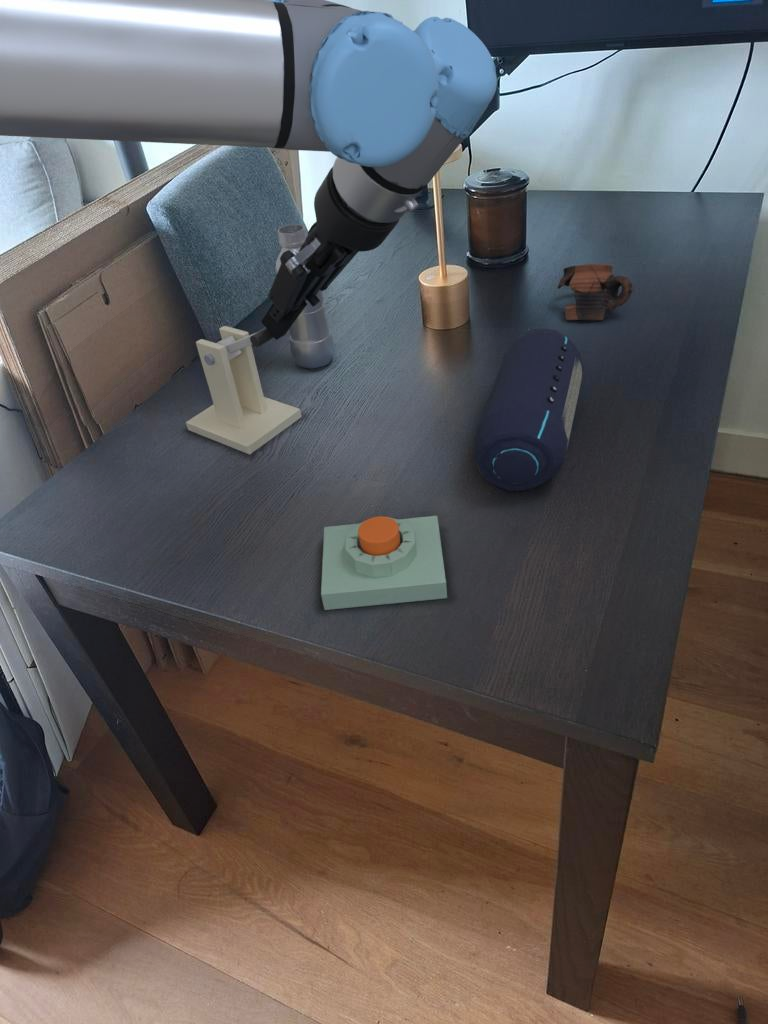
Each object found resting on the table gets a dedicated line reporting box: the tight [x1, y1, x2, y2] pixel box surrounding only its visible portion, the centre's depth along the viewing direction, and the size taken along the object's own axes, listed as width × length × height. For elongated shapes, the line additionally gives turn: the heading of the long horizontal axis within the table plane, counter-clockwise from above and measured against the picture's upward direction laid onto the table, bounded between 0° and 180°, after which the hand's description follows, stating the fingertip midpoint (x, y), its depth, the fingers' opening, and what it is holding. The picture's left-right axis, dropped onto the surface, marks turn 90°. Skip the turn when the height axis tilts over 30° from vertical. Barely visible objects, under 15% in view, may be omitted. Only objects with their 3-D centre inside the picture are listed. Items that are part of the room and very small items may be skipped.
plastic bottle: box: [274, 223, 336, 369], centre depth 107 cm, size 6×7×20 cm
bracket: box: [185, 325, 303, 455], centre depth 98 cm, size 12×10×13 cm
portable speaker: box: [474, 327, 585, 492], centre depth 89 cm, size 25×10×10 cm, turn 163°
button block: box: [320, 515, 448, 611], centre depth 76 cm, size 12×10×4 cm
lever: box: [216, 326, 275, 360], centre depth 92 cm, size 12×5×2 cm, turn 53°
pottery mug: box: [557, 263, 634, 321], centre depth 115 cm, size 12×10×8 cm
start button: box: [358, 516, 400, 556], centre depth 75 cm, size 4×4×2 cm
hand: (273, 328), depth 87 cm, fingers closed
